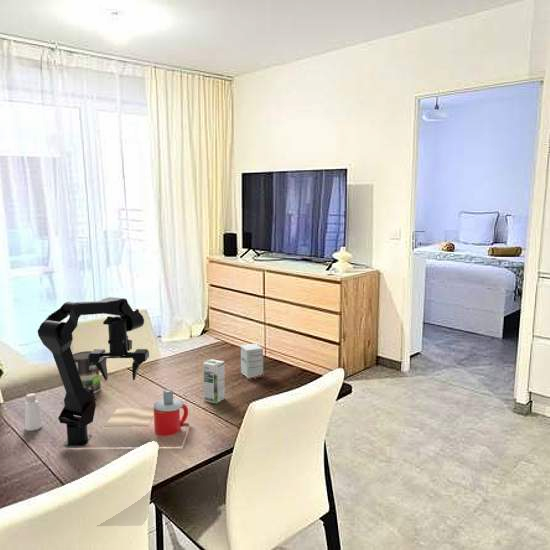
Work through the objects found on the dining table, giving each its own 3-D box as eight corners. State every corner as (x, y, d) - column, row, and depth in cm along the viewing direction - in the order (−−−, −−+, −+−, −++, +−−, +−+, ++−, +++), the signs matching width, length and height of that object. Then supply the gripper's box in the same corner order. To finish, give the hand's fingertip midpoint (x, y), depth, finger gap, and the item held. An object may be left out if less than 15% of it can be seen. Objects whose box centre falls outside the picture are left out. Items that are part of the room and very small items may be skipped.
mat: (148, 427, 154) (148, 425, 154) (104, 427, 154) (104, 426, 154) (158, 408, 168) (157, 407, 168) (117, 408, 168) (117, 407, 168)
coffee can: (106, 386, 189) (104, 351, 186) (91, 396, 179) (89, 360, 176) (82, 384, 191) (80, 350, 188) (66, 394, 181) (64, 358, 178)
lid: (181, 411, 148) (180, 396, 147) (151, 412, 147) (151, 397, 147) (184, 399, 157) (183, 385, 156) (156, 400, 156) (155, 386, 155)
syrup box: (203, 401, 174) (202, 363, 172) (212, 395, 179) (211, 358, 177) (216, 404, 172) (215, 365, 169) (225, 398, 177) (224, 360, 175)
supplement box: (240, 374, 201) (240, 345, 199) (256, 371, 204) (256, 342, 202) (247, 380, 195) (246, 350, 193) (263, 377, 198) (263, 347, 196)
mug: (195, 425, 156) (194, 402, 154) (164, 439, 147) (163, 415, 145) (179, 418, 161) (179, 396, 159) (149, 431, 152) (148, 408, 150)
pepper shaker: (38, 421, 159) (35, 389, 157) (46, 426, 155) (43, 394, 153) (21, 427, 154) (18, 395, 153) (28, 432, 151) (25, 399, 149)
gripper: (151, 328, 167) (153, 371, 169) (97, 328, 167) (100, 371, 169) (143, 337, 156) (146, 383, 158) (86, 337, 156) (89, 383, 158)
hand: (120, 380), depth 161 cm, fingers open, 9 cm apart
